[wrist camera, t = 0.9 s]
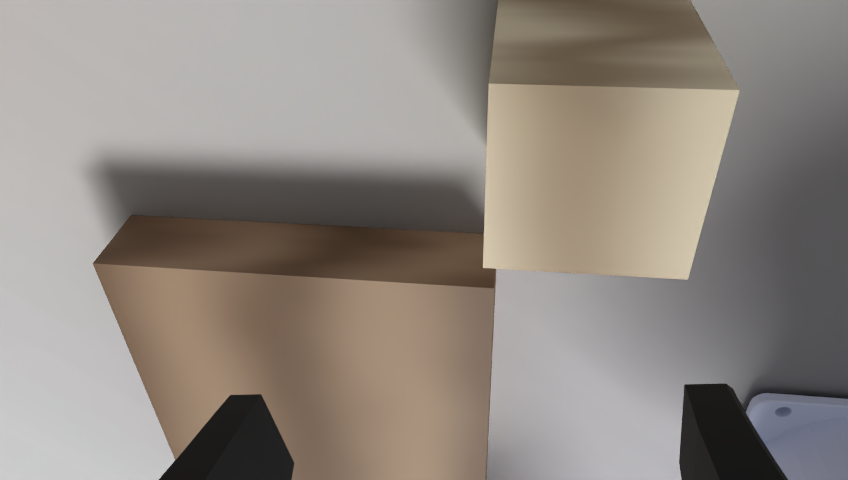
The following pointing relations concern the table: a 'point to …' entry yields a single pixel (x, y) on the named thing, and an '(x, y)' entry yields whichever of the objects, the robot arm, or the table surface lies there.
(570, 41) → the maple cube
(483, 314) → the walnut block
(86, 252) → the table surface
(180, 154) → the table surface
